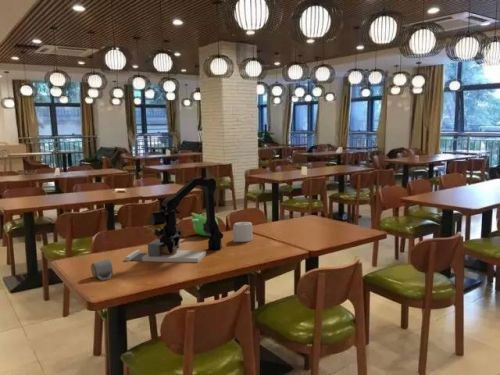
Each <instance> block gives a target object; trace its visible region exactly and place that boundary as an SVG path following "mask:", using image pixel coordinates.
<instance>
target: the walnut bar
mask: <svg viewBox="0 0 500 375" xmlns="http://www.w3.org/2000/svg"><path fill="white" fill-rule="evenodd" d="M177 249H178V248H177V246H176V245H174V247H173V251H172V254H170V253H169V250H168V248H167V245H160V255H175V254H176V253H177Z"/></svg>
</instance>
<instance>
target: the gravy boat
mask: <svg viewBox="0 0 500 375" xmlns="http://www.w3.org/2000/svg"><path fill="white" fill-rule="evenodd" d="M191 215H192V216H193V218H192V219H191V222H192V227H193V230H194V231H195V232H196V234H198V235H199V236H203V237H204V236H205V237H207V234H205V232H204V230H203V223H205V222H206V212H204V213H203V212H202V213H200V214H198V213H195V212H191ZM215 220H216V222H217V224H218V225H219V222H218V218H217V217H216V216H215Z"/></svg>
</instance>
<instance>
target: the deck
mask: <svg viewBox="0 0 500 375" xmlns="http://www.w3.org/2000/svg"><path fill="white" fill-rule="evenodd" d="M206 255H207V251H206V250H177V253H176V254H175V255H161V256H160V257H149V255H148V252H141V249H136V250H134V251H133V252H130V253H129V254H128V255H126V256H125V261H126V262H128V261H129V262H166V263H167V262H168V263H170V262H171V263H199V262H201V261H202V259H204V258H205V256H206Z"/></svg>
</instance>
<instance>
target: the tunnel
mask: <svg viewBox="0 0 500 375" xmlns="http://www.w3.org/2000/svg"><path fill="white" fill-rule="evenodd" d="M160 245H166V244H165V243H160V238H155V239H154V240H152V241H151V242H149V243H148V244H147V253H148V255H149V257H160V256H161V255H160Z"/></svg>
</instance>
